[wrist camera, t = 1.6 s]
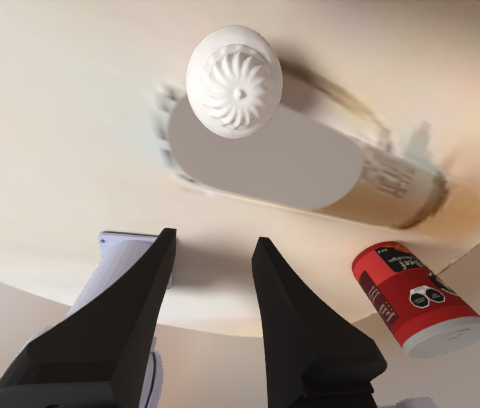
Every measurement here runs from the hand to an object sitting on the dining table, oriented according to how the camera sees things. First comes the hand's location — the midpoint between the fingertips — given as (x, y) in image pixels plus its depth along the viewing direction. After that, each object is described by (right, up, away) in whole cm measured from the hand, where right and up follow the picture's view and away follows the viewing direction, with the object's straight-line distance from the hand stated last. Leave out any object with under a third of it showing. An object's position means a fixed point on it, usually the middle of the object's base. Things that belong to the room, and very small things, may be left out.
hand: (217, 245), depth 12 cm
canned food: (+22, -6, +18) cm, 28 cm away
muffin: (+1, +12, +4) cm, 12 cm away
